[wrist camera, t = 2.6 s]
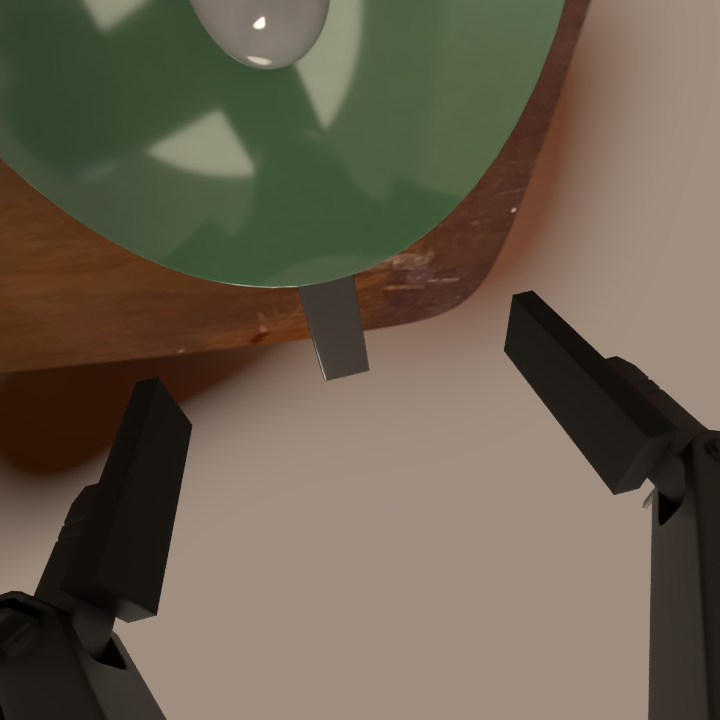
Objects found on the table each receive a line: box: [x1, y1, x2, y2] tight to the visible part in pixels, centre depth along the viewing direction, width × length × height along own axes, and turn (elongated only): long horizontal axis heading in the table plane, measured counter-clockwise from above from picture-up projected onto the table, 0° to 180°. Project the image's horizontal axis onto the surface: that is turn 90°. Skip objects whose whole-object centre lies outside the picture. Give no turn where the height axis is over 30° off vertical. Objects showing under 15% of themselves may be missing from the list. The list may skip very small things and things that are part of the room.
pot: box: [0, 0, 565, 381], centre depth 12 cm, size 19×13×13 cm, turn 8°
